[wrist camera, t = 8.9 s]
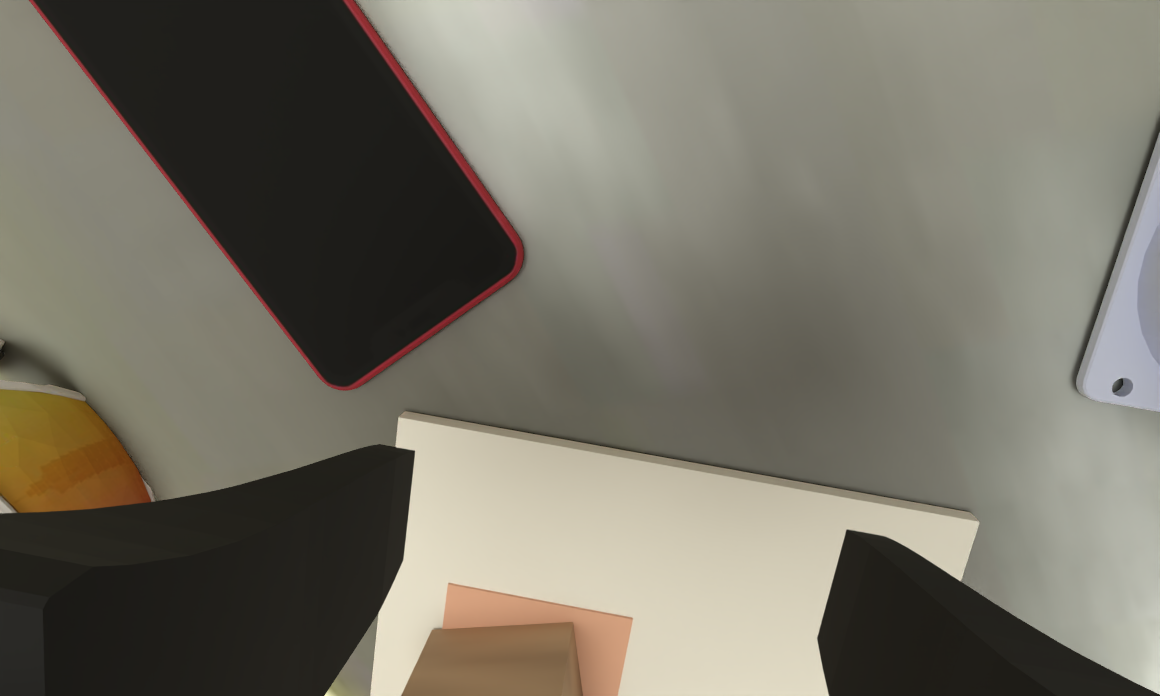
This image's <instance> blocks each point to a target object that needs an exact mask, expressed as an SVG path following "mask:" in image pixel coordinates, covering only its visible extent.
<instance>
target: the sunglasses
mask: <svg viewBox="0 0 1160 696" xmlns="http://www.w3.org/2000/svg"><path fill="white" fill-rule="evenodd" d="M4 343H5V341H3V340H1V339H0V359H1V358H2V357H3V356H4V351H1V349H2V347H3V345H4ZM85 400H86V398H85V397H84V396H83V395H82V394H81V393H80V392H76V391H72V390H69V389H65V388H61V387H57V386H54V385H50V384H48V385H43V386H42V385H37V384H31V383H25V382H15V381H6V380H0V513H26V512H51V511H68V510H83V509H95V508H103V507H112V506H120V505H129V504H137V503H146V502H155V501H156V500H155V498H154V495H153V493H152V490H151V488H150V487H149V485H148V484H147V483H146V482H145V481H144V479H143V478H141V476H140V473H139V471H138V469H137V467H136V466H135V464H134V463H133V461H132V460H131V458H130V457H129V455H128V454H127V452H126V451H125V449H124V448H123V446H122V445H121V443H120V442H119V440H118V439H117V438H116V436H115V435H114V434H113V433H112V431H111V430H110V429H109V427H108V426H107V425H106V424H105V423H104V421H103V420H102V419H101V418H100V417H99V416H98V415H97V414H96V413H95V412H94V411H93V410H92V409H91V407H90V406H89V405H88V404H87V403H86V402H85Z"/></svg>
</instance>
